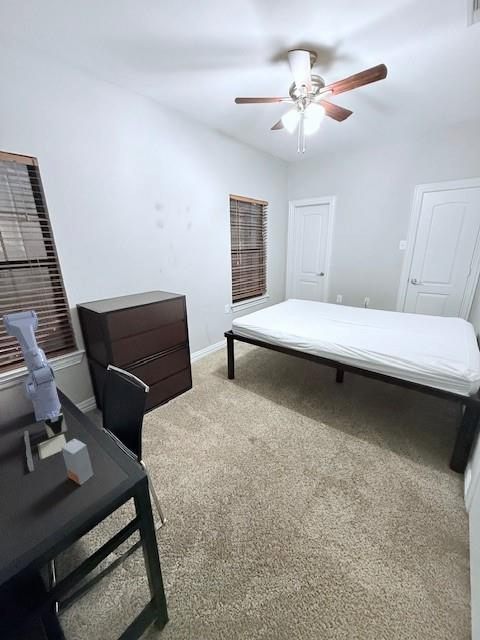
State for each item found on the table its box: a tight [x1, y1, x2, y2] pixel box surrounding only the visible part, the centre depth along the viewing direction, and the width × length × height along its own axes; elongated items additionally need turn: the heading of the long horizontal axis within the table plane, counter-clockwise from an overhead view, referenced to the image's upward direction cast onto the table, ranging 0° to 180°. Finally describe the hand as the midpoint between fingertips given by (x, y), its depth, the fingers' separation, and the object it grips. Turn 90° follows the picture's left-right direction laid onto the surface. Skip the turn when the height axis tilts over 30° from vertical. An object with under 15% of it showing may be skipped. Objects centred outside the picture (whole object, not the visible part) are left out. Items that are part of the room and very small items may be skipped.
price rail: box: [23, 430, 35, 472], centre depth 92 cm, size 22×1×2 cm, turn 41°
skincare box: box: [61, 438, 94, 486], centre depth 80 cm, size 6×4×12 cm
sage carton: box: [43, 412, 68, 439], centre depth 100 cm, size 4×6×6 cm
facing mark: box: [36, 433, 68, 461], centre depth 94 cm, size 9×8×1 cm
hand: (56, 427), depth 101 cm, fingers open, 7 cm apart
